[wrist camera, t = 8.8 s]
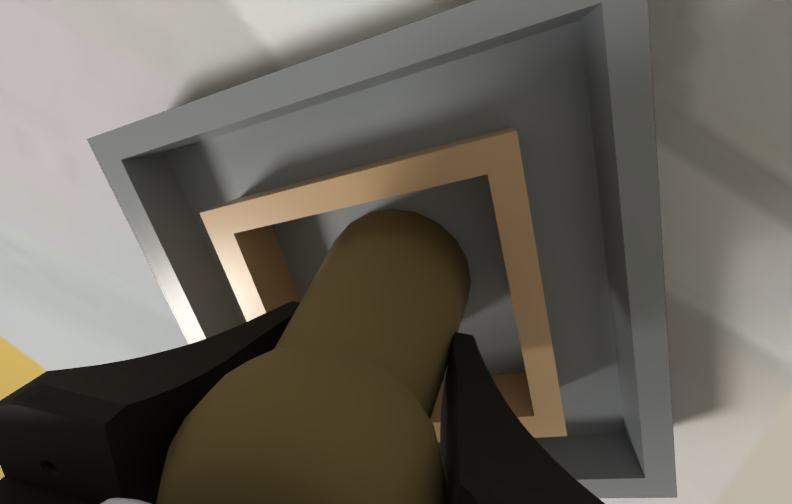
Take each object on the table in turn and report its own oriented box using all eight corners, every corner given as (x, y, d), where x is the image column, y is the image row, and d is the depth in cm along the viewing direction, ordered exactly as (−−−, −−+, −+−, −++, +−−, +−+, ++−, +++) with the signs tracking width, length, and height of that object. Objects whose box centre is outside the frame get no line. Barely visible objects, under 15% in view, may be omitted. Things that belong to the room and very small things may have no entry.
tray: (644, 434, 17) (681, 505, 14) (292, 451, 22) (263, 506, 19) (604, -22, 12) (649, -66, 9) (151, 133, 17) (78, 139, 14)
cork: (335, 338, 17) (148, 658, 7) (318, 209, 15) (24, 408, 5) (470, 346, 16) (466, 738, 6) (471, 207, 14) (471, 459, 4)
